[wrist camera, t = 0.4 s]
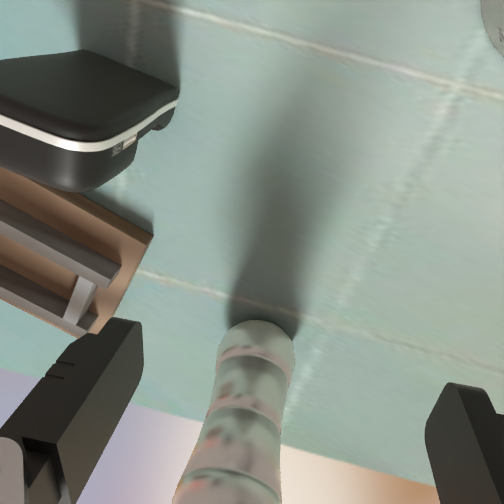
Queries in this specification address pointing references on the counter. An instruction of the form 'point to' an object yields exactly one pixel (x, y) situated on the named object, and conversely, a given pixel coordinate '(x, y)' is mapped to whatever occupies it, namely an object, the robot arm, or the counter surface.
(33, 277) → the rail block
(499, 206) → the counter surface
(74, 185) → the battery charger
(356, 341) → the counter surface
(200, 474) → the plastic bottle
